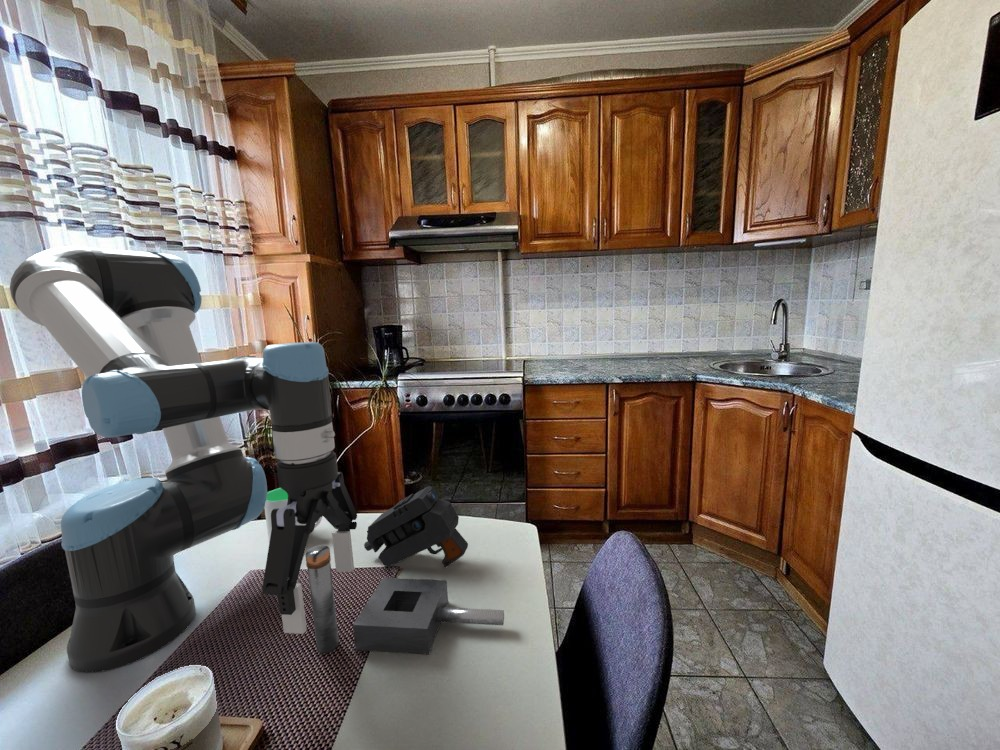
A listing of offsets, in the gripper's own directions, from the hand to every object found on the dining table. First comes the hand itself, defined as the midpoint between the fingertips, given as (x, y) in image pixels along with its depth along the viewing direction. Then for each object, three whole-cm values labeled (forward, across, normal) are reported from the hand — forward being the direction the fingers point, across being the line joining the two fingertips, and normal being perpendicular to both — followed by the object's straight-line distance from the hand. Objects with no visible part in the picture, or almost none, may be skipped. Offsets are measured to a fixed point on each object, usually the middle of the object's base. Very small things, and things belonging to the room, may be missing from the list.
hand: (322, 597), depth 61 cm
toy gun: (+8, +22, -6) cm, 24 cm away
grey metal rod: (+8, 0, 0) cm, 8 cm away
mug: (+8, +30, +24) cm, 39 cm away
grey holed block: (+8, +5, -15) cm, 18 cm away
